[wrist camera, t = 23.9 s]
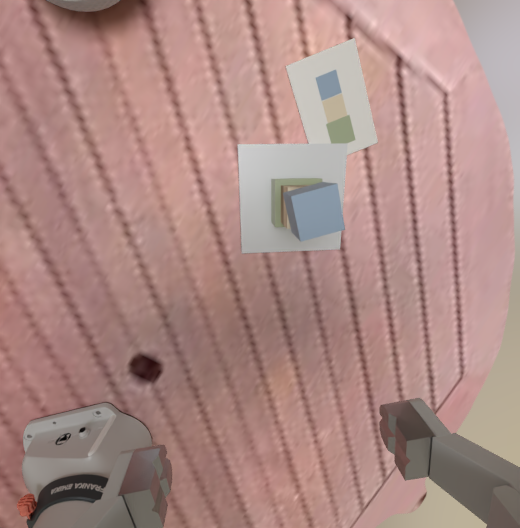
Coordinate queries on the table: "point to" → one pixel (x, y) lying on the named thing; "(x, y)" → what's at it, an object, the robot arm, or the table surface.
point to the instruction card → (333, 98)
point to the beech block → (283, 207)
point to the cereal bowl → (84, 4)
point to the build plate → (260, 191)
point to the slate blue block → (314, 210)
